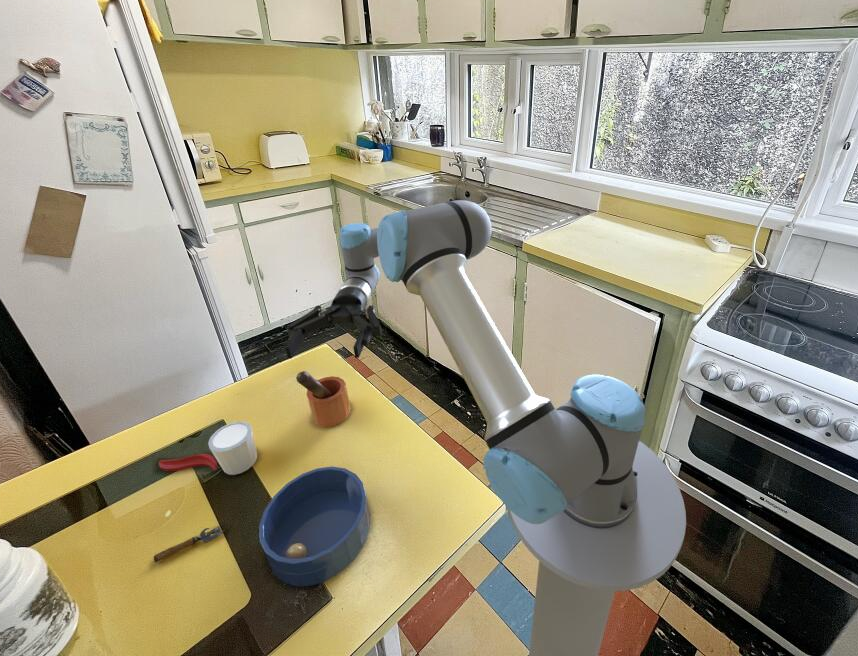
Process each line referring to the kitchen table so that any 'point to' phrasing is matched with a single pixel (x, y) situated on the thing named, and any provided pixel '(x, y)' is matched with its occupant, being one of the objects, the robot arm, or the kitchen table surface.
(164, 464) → the cayenne pepper
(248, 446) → the white cup
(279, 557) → the bowl
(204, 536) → the can opener
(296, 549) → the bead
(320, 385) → the stirring stick
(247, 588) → the kitchen table surface
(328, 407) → the holder
